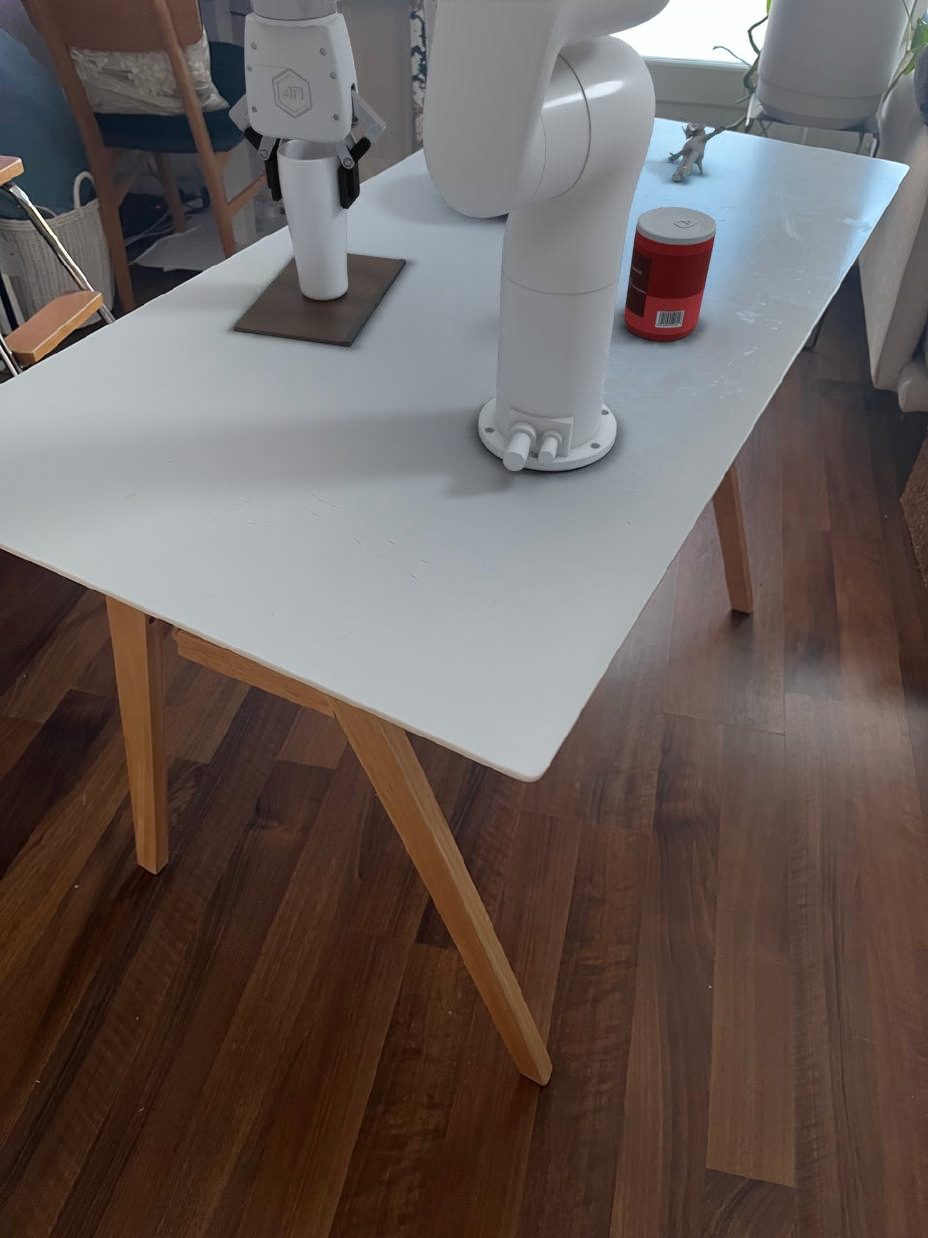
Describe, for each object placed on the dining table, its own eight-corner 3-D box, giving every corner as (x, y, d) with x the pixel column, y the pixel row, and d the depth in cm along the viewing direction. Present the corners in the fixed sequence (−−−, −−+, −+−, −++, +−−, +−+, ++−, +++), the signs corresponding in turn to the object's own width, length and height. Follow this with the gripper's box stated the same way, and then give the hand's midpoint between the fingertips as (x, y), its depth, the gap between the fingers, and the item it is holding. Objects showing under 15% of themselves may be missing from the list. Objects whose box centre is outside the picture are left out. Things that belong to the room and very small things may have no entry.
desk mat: (350, 346, 96) (350, 342, 96) (233, 330, 99) (232, 325, 98) (406, 263, 110) (406, 259, 110) (302, 250, 112) (302, 246, 112)
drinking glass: (345, 308, 101) (332, 163, 90) (285, 302, 102) (265, 157, 91) (362, 280, 106) (351, 139, 95) (305, 274, 107) (288, 134, 96)
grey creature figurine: (640, 176, 130) (662, 132, 133) (667, 207, 133) (687, 164, 136) (696, 142, 122) (718, 96, 125) (723, 176, 125) (743, 131, 128)
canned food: (710, 324, 100) (732, 221, 92) (665, 350, 96) (684, 245, 88) (653, 300, 104) (670, 199, 96) (608, 324, 100) (621, 221, 92)
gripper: (187, 0, 83) (222, 205, 96) (372, 15, 80) (383, 223, 93) (222, -18, 88) (251, 178, 101) (398, -6, 85) (405, 195, 98)
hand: (314, 198), depth 97 cm, fingers closed on drinking glass, 6 cm apart
